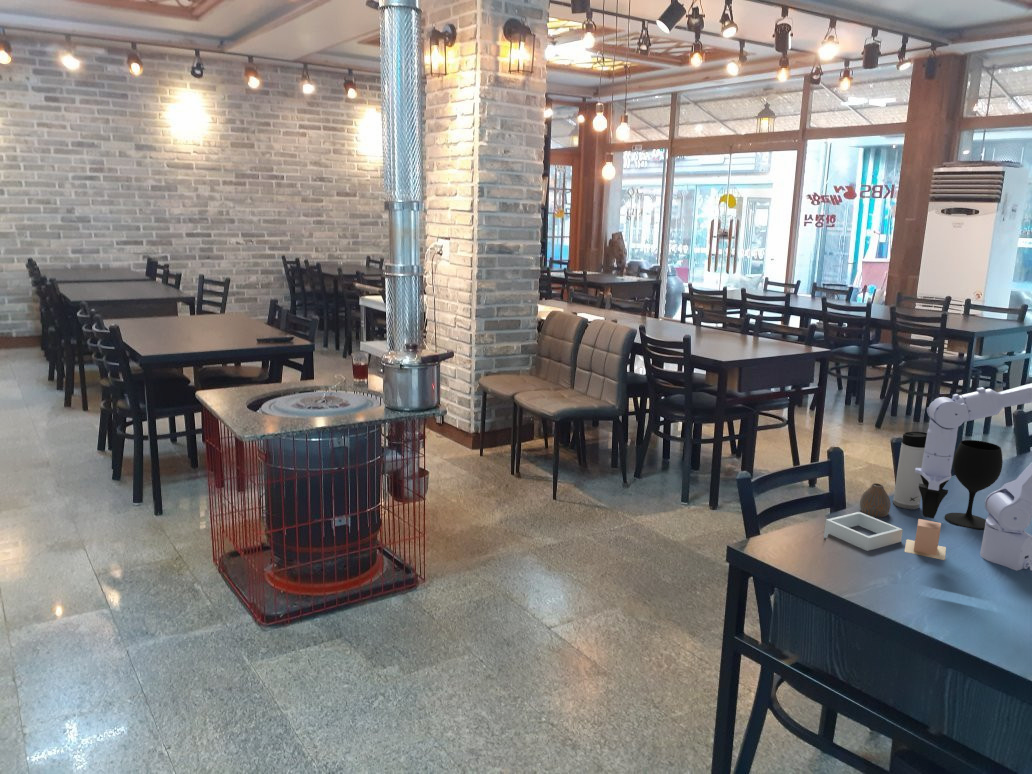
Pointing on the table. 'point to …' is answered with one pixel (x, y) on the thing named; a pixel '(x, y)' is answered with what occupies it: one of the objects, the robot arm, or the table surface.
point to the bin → (842, 530)
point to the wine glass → (975, 476)
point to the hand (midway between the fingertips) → (929, 511)
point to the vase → (875, 501)
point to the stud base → (940, 553)
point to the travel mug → (909, 471)
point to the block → (927, 536)
